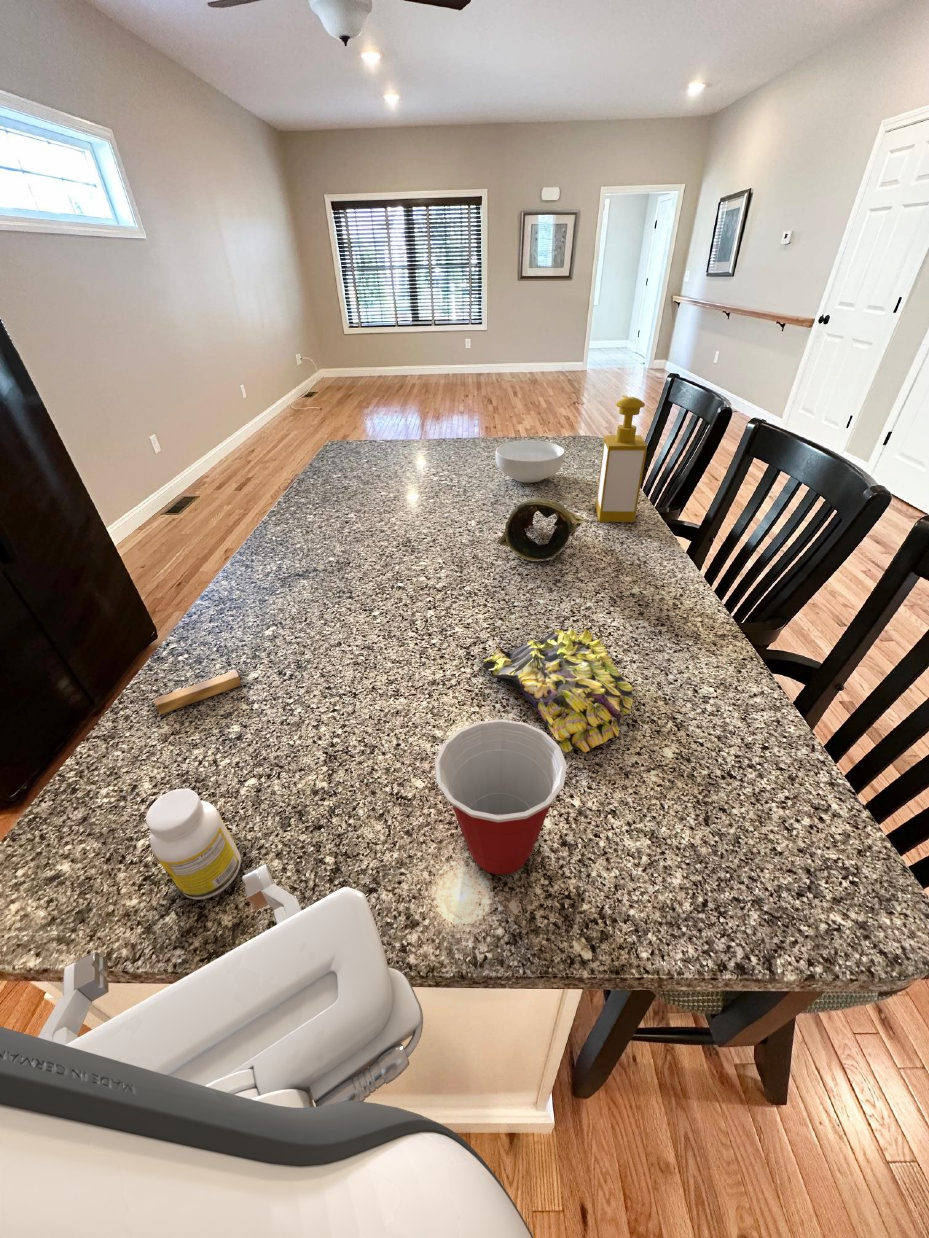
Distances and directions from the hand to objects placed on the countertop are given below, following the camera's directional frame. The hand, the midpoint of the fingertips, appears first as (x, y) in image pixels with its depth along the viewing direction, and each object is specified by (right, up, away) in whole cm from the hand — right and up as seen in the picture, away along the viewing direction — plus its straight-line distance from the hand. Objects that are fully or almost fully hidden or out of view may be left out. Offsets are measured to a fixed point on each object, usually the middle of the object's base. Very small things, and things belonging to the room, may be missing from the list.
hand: (176, 915), depth 31 cm
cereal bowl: (+34, +54, +99) cm, 118 cm away
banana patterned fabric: (+29, +8, +35) cm, 46 cm away
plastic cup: (+21, -4, +18) cm, 28 cm away
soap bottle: (+50, +42, +81) cm, 104 cm away
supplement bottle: (-6, -6, +17) cm, 19 cm away
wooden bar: (-17, +8, +36) cm, 41 cm away
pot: (+32, +31, +67) cm, 80 cm away
